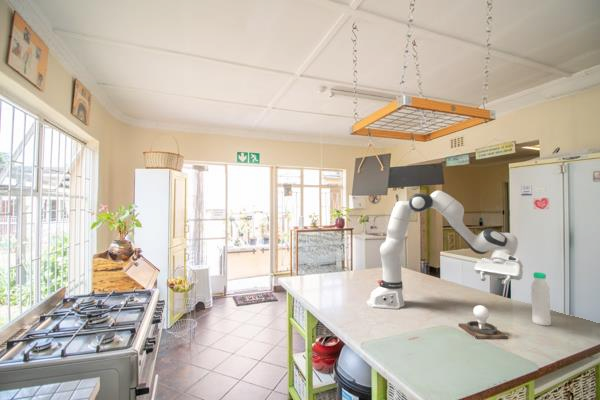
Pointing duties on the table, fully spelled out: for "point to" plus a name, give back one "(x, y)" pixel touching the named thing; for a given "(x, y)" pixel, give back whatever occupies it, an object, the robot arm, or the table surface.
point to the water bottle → (540, 300)
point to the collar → (482, 330)
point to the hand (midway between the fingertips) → (492, 282)
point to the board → (482, 336)
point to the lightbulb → (481, 315)
